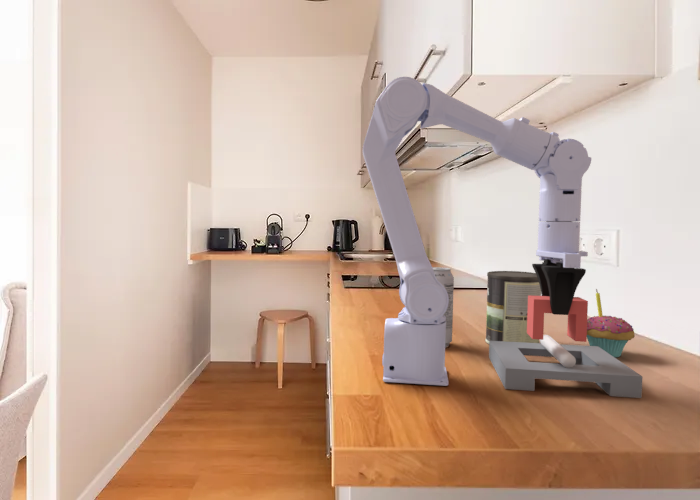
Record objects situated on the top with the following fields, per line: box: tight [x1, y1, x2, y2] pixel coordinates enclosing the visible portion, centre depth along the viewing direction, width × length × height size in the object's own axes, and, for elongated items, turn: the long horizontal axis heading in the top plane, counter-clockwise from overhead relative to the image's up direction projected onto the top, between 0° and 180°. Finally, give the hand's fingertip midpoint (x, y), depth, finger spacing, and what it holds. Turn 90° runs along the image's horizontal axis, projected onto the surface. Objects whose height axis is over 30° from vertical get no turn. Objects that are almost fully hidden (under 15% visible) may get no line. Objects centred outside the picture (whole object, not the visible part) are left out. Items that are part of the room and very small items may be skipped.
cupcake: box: [586, 288, 635, 358], centre depth 84 cm, size 9×8×12 cm
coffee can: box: [484, 270, 542, 345], centre depth 91 cm, size 10×10×14 cm
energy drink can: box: [432, 266, 455, 348], centre depth 89 cm, size 6×6×15 cm
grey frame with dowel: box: [488, 334, 643, 399], centre depth 72 cm, size 18×16×5 cm
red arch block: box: [527, 295, 589, 343], centre depth 69 cm, size 8×4×6 cm, turn 81°
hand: (555, 311), depth 69 cm, fingers closed on red arch block, 4 cm apart
